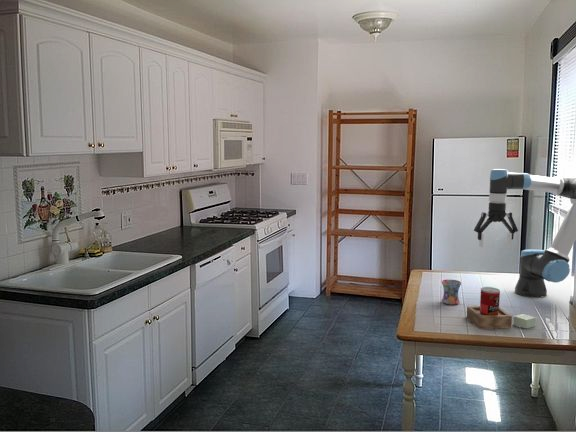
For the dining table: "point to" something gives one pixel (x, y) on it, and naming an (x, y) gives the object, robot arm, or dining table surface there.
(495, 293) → the canned food
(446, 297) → the mug
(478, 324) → the wooden tray
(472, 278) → the dining table surface
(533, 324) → the brick
